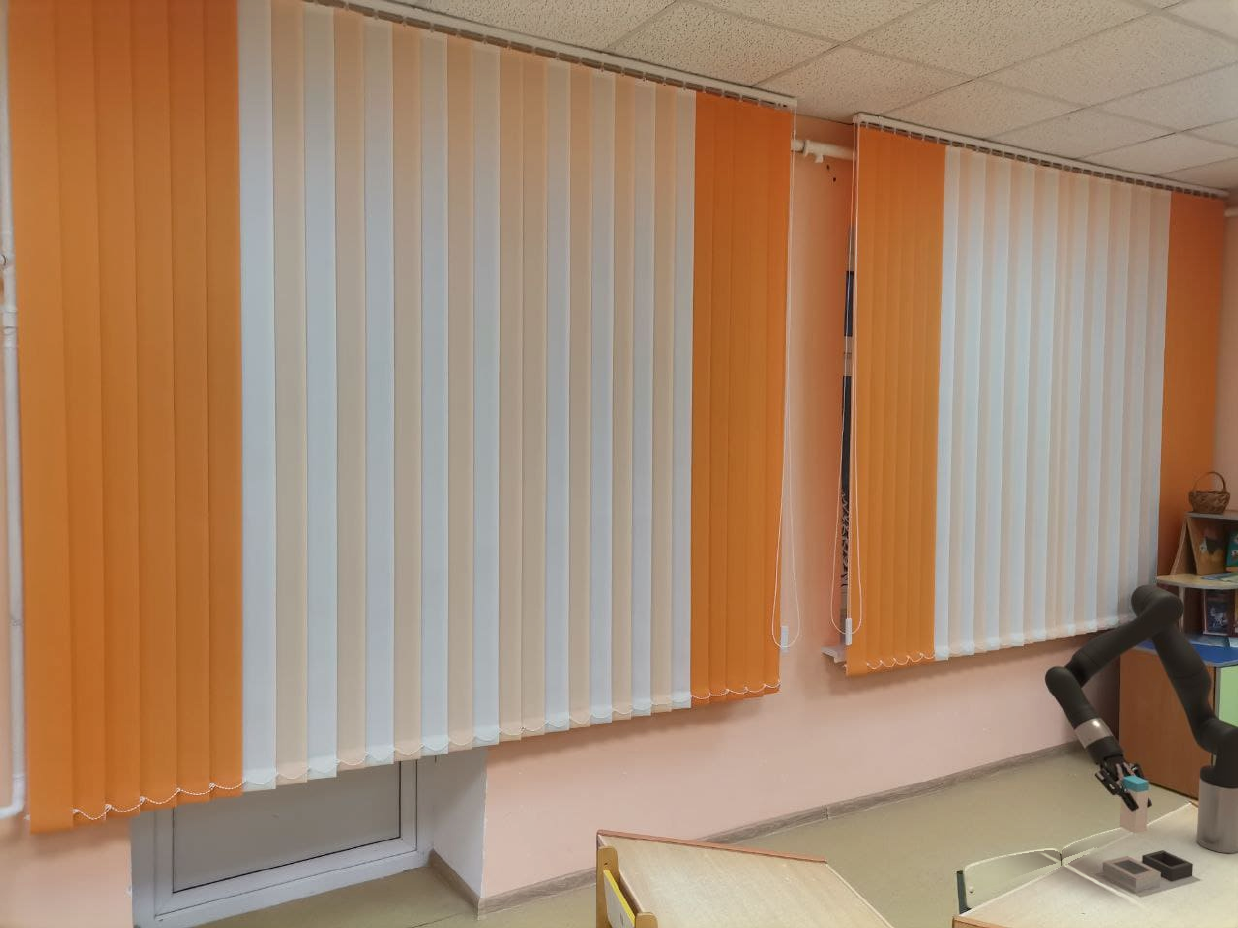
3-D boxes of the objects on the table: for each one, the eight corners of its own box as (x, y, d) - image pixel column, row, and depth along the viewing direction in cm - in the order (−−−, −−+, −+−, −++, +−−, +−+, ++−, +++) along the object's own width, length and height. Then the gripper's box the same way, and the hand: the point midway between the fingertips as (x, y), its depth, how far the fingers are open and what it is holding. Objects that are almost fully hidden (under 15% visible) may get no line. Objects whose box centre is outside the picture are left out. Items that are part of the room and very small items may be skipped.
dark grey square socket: (1162, 861, 223) (1162, 849, 223) (1192, 875, 216) (1192, 863, 216) (1141, 866, 220) (1142, 855, 220) (1171, 881, 213) (1172, 869, 213)
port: (1126, 869, 219) (1127, 855, 218) (1160, 886, 211) (1160, 871, 211) (1102, 875, 215) (1103, 861, 215) (1135, 893, 207) (1136, 878, 207)
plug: (1130, 823, 215) (1133, 775, 215) (1146, 830, 211) (1148, 781, 211) (1119, 826, 213) (1121, 777, 213) (1135, 833, 210) (1137, 783, 209)
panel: (1154, 861, 225) (1154, 857, 225) (1201, 883, 214) (1201, 879, 214) (1094, 877, 216) (1094, 873, 216) (1140, 901, 205) (1140, 897, 205)
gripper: (1088, 737, 216) (1132, 806, 205) (1128, 730, 221) (1173, 797, 211) (1068, 751, 221) (1110, 819, 210) (1108, 744, 226) (1151, 810, 216)
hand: (1141, 808), depth 210 cm, fingers closed on plug, 4 cm apart
